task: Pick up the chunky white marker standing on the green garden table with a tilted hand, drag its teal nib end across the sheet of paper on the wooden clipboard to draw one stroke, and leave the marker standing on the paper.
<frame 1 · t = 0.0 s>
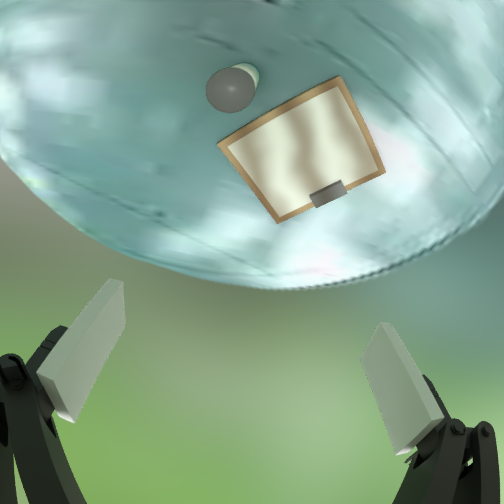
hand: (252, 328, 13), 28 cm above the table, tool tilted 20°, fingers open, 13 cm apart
marker: (244, 76, 29), on the table
clipboard: (306, 153, 35), on the table
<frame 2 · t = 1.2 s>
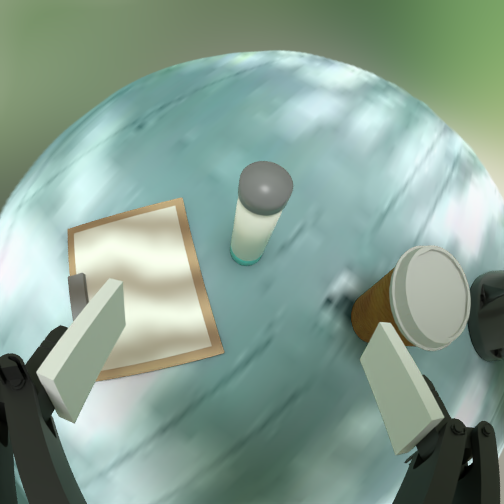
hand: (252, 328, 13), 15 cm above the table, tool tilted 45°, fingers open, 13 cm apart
marker: (246, 250, 31), on the table
clipboard: (134, 287, 28), on the table
disposable coffee cup: (372, 317, 30), on the table
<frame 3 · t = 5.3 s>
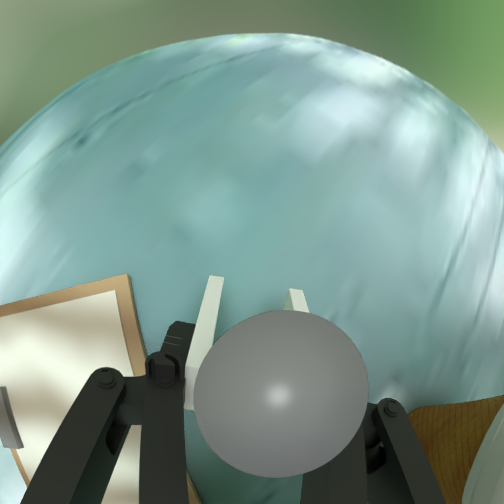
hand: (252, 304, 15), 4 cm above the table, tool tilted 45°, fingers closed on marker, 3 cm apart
marker: (236, 370, 17), on the table, touching gripper
clipboard: (68, 415, 14), on the table
disposable coffee cup: (416, 439, 16), on the table
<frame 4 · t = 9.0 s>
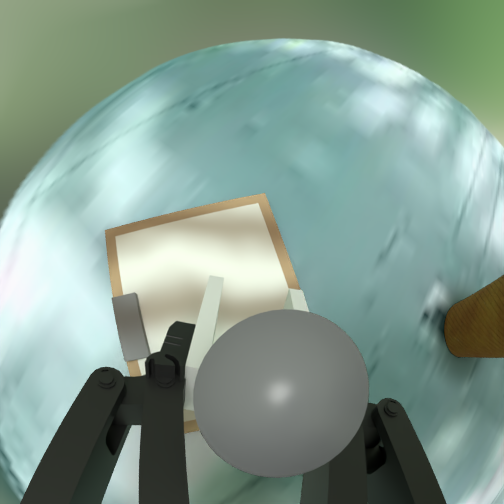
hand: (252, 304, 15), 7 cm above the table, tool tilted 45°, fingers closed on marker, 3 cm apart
marker: (236, 370, 17), point 4 cm above the table, touching gripper
clipboard: (209, 311, 22), on the table
disposable coffee cup: (459, 330, 24), on the table
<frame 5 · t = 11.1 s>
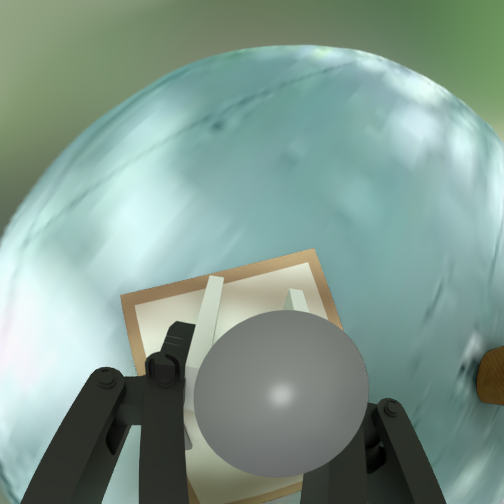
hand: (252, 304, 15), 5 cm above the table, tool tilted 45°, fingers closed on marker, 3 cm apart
marker: (236, 370, 17), point 1 cm above the table, touching gripper
clipboard: (254, 392, 18), on the table
disposable coffee cup: (488, 376, 20), on the table
when the fingers open (5 cm above the table, at t = 12.7 s): marker stays where it is, resting on clipboard.
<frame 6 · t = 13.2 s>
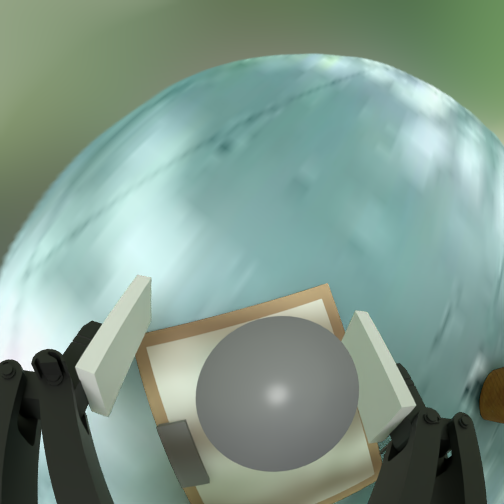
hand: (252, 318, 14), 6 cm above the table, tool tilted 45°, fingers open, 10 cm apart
marker: (235, 370, 18), point 1 cm above the table, touching clipboard
clipboard: (269, 427, 17), on the table
disposable coffee cup: (491, 394, 20), on the table
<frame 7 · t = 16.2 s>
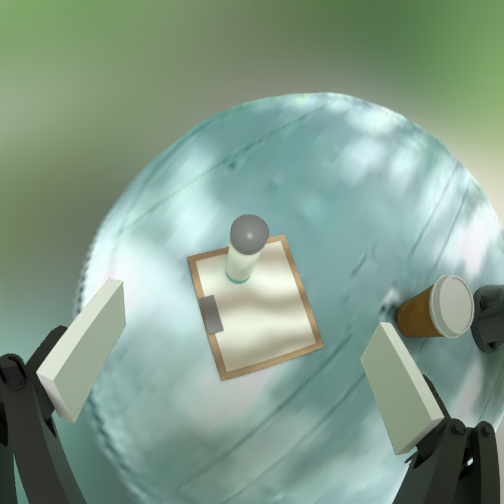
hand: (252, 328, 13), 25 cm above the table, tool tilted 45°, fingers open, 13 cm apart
marker: (238, 271, 40), point 1 cm above the table, touching clipboard
clipboard: (254, 304, 39), on the table
disposable coffee cup: (409, 319, 42), on the table
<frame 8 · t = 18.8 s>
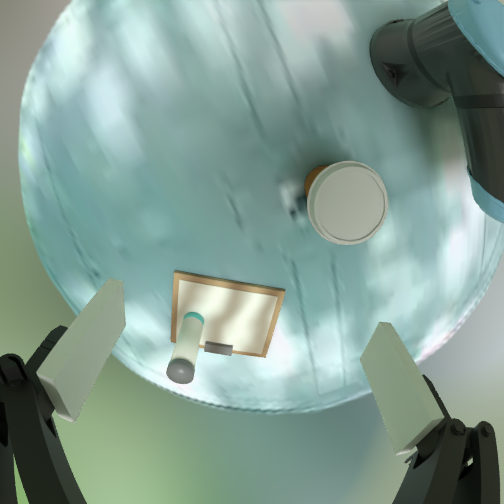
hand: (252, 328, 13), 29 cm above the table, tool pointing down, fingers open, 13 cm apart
marker: (193, 320, 47), point 1 cm above the table, touching clipboard
clipboard: (223, 317, 48), on the table
disposable coffee cup: (325, 186, 39), on the table
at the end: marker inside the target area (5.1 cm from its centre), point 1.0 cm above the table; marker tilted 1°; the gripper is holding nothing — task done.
